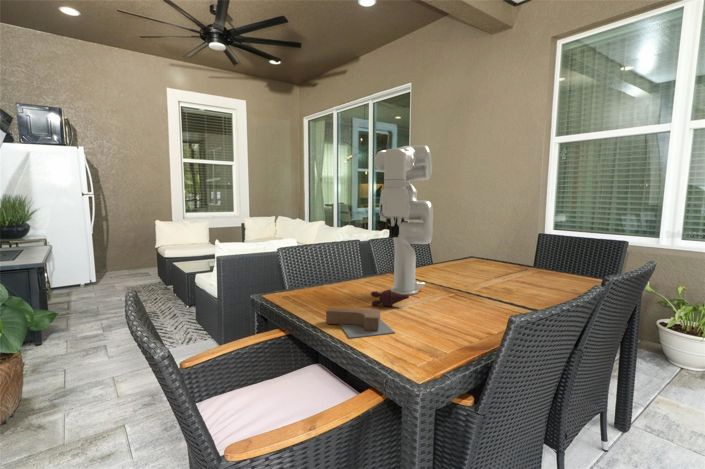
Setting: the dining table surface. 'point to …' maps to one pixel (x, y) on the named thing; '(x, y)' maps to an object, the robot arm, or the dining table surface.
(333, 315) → the wooden block
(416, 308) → the dining table surface
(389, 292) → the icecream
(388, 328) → the mat
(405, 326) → the dining table surface
